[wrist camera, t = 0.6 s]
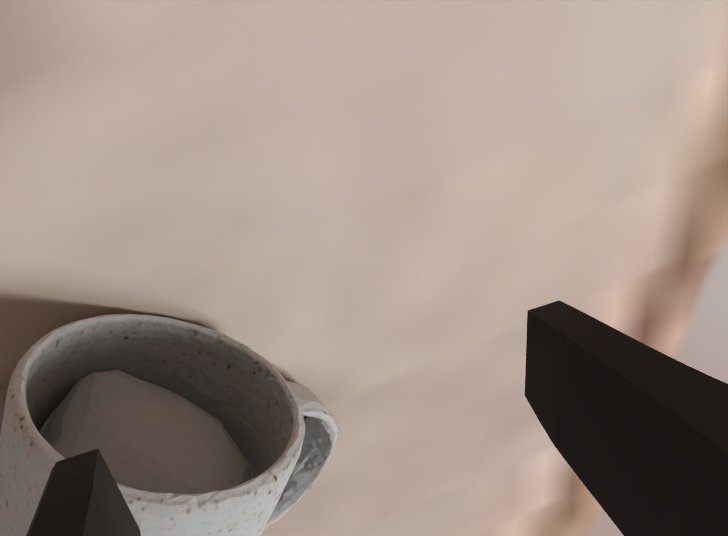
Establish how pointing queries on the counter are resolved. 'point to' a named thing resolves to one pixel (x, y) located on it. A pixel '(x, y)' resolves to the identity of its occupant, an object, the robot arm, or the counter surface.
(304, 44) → the counter surface
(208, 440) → the ceramic mug
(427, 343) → the counter surface
